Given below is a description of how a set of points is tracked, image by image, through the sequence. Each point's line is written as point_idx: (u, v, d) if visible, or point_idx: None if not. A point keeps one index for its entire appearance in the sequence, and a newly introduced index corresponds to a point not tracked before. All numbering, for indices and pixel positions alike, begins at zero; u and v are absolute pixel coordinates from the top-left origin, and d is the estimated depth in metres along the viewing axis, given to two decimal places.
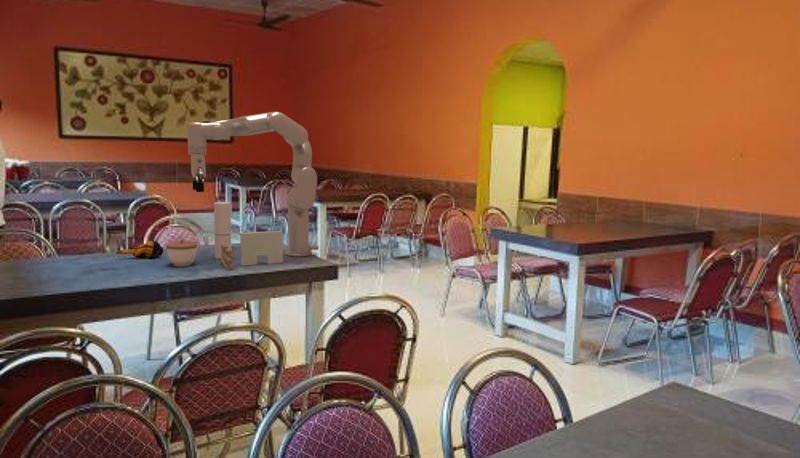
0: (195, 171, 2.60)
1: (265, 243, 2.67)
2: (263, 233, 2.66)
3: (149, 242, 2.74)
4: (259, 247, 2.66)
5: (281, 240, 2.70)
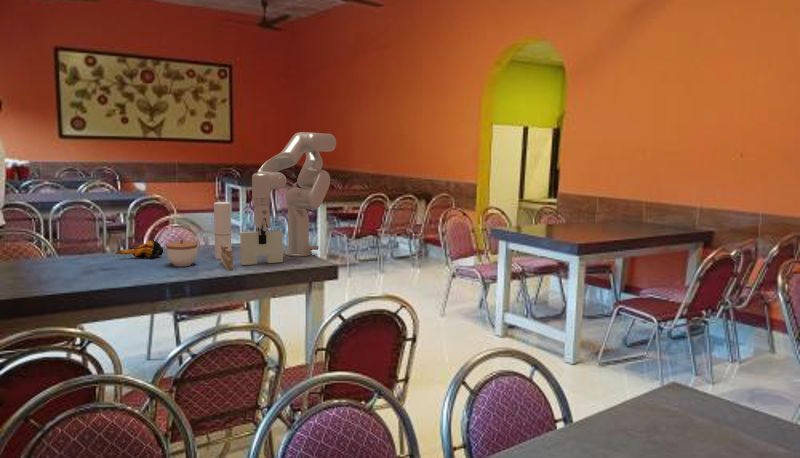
0: (260, 222, 2.61)
1: None
2: None
3: (149, 242, 2.74)
4: (259, 246, 2.66)
5: (281, 239, 2.70)
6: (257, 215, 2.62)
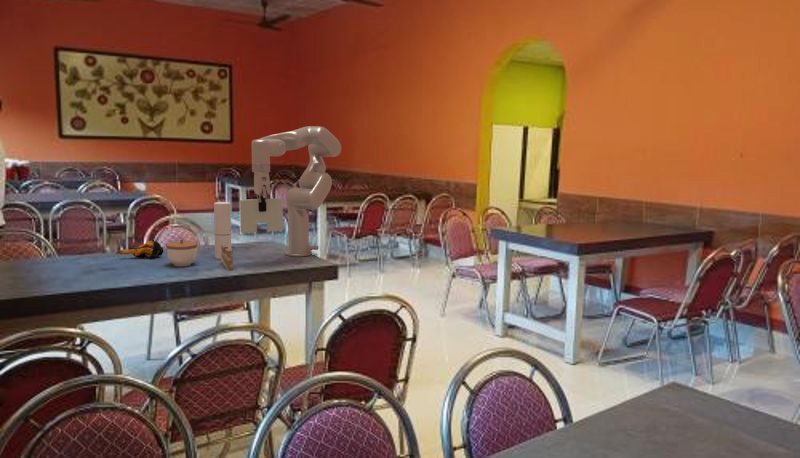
0: (260, 189, 2.59)
1: None
2: None
3: (149, 242, 2.74)
4: (259, 214, 2.64)
5: (281, 207, 2.68)
6: (257, 182, 2.60)
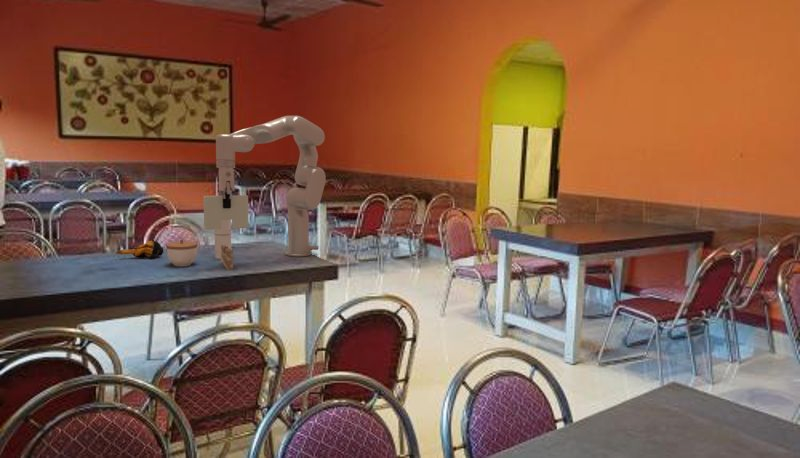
0: (224, 185, 2.52)
1: None
2: None
3: (149, 242, 2.74)
4: (223, 211, 2.57)
5: (247, 204, 2.61)
6: (221, 177, 2.53)
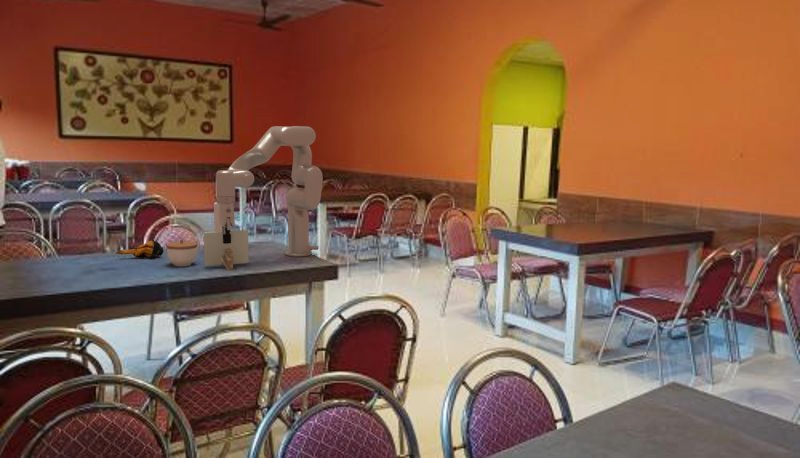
0: (224, 221, 2.54)
1: (230, 243, 2.60)
2: None
3: (149, 242, 2.74)
4: (224, 247, 2.59)
5: (247, 239, 2.63)
6: (221, 213, 2.55)
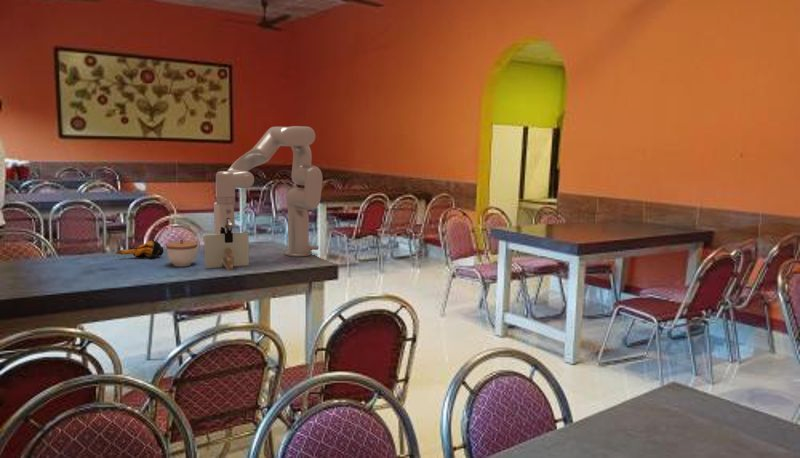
0: (224, 222, 2.54)
1: (230, 245, 2.60)
2: None
3: (149, 242, 2.74)
4: (224, 249, 2.60)
5: (247, 242, 2.63)
6: (221, 214, 2.55)
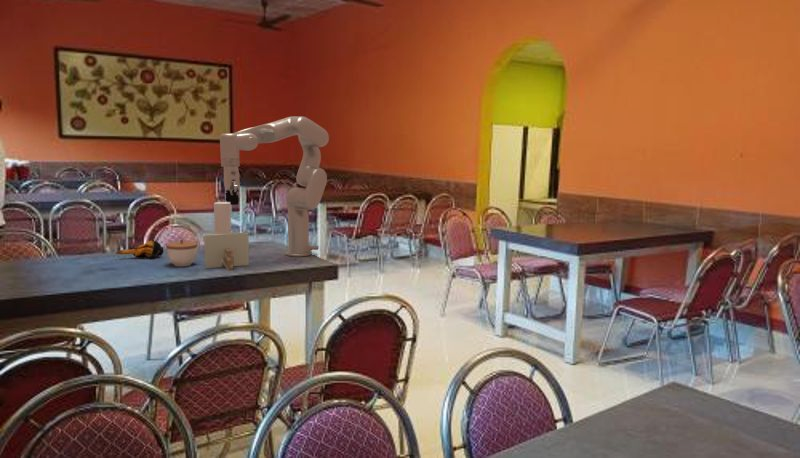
0: (229, 183, 2.54)
1: (230, 245, 2.60)
2: (228, 235, 2.59)
3: (149, 242, 2.74)
4: (224, 249, 2.60)
5: (247, 242, 2.63)
6: (226, 176, 2.56)
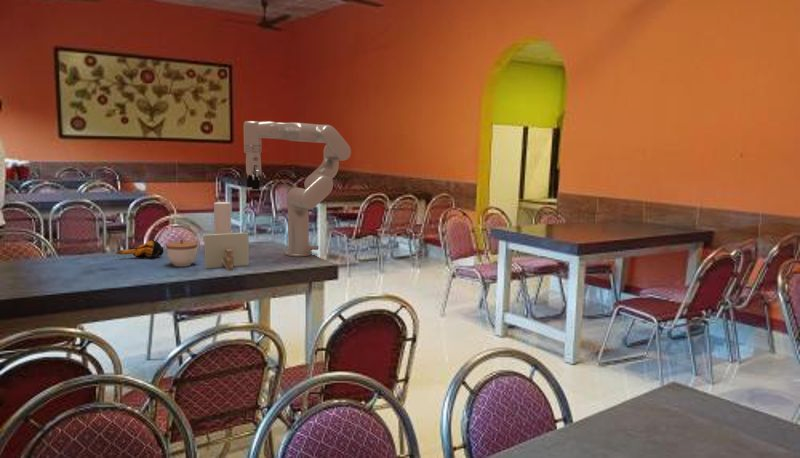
0: (251, 169, 2.66)
1: (230, 245, 2.60)
2: (228, 235, 2.59)
3: (149, 242, 2.74)
4: (224, 249, 2.60)
5: (247, 242, 2.63)
6: (248, 162, 2.67)
